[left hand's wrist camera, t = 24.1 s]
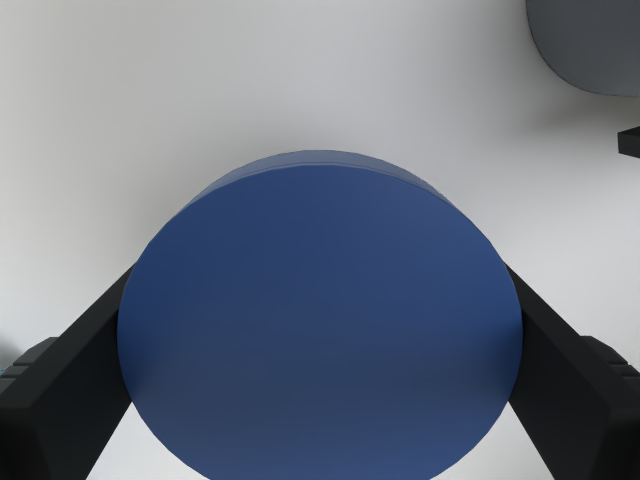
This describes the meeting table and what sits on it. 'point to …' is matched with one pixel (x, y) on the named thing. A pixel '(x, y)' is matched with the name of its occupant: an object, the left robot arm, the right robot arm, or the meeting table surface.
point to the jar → (590, 42)
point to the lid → (319, 325)
